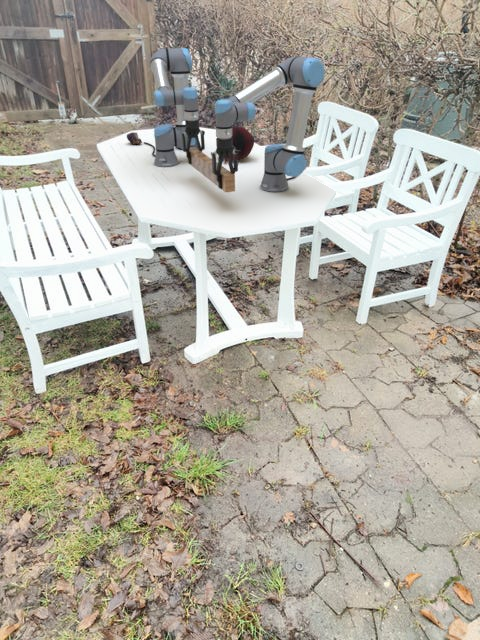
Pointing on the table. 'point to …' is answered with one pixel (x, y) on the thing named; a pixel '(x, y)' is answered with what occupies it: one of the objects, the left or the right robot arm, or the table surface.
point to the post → (205, 167)
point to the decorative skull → (241, 142)
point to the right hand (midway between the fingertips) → (225, 187)
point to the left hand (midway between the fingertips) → (194, 163)
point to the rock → (133, 138)
